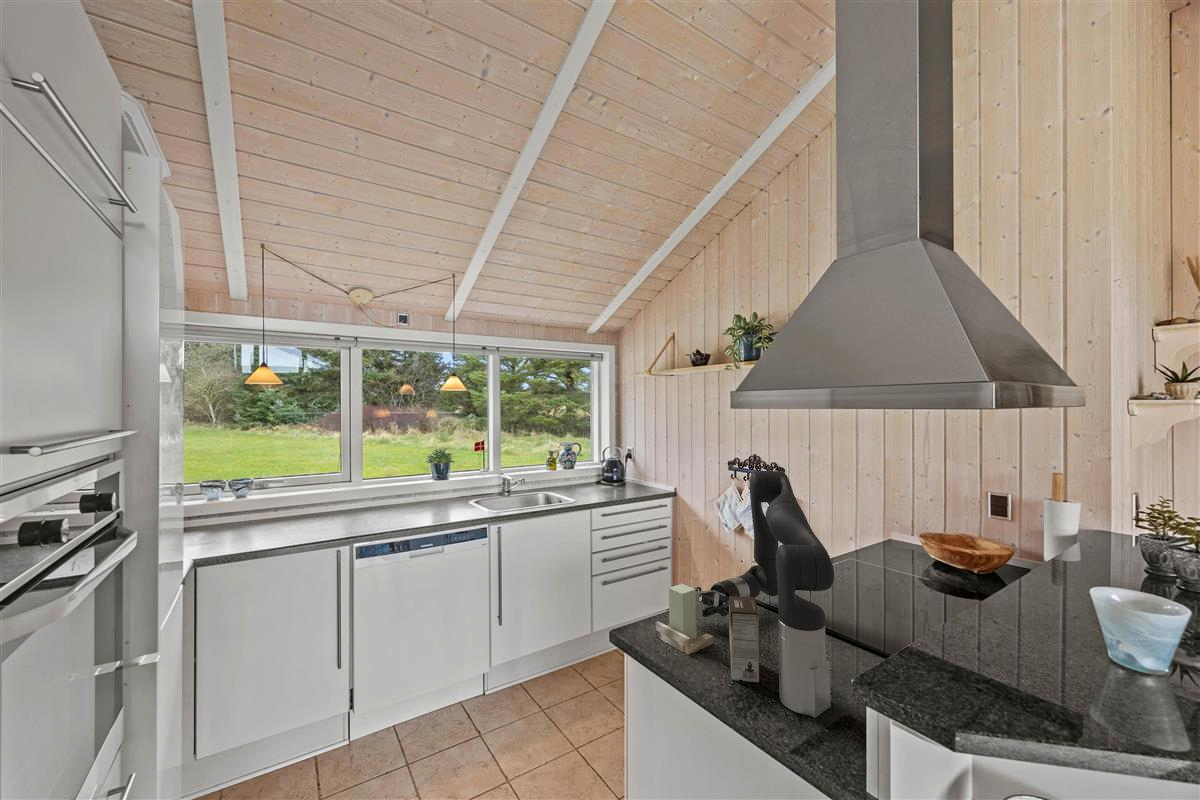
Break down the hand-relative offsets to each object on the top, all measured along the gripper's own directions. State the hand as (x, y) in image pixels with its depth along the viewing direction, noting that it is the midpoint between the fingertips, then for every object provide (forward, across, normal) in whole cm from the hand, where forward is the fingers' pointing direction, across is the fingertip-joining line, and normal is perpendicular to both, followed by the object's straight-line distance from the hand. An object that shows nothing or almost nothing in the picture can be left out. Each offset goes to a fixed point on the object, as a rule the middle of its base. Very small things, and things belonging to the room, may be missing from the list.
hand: (691, 607), depth 133 cm
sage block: (+3, 0, +8) cm, 9 cm away
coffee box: (+2, +19, +8) cm, 21 cm away
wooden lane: (+3, 0, +8) cm, 9 cm away
